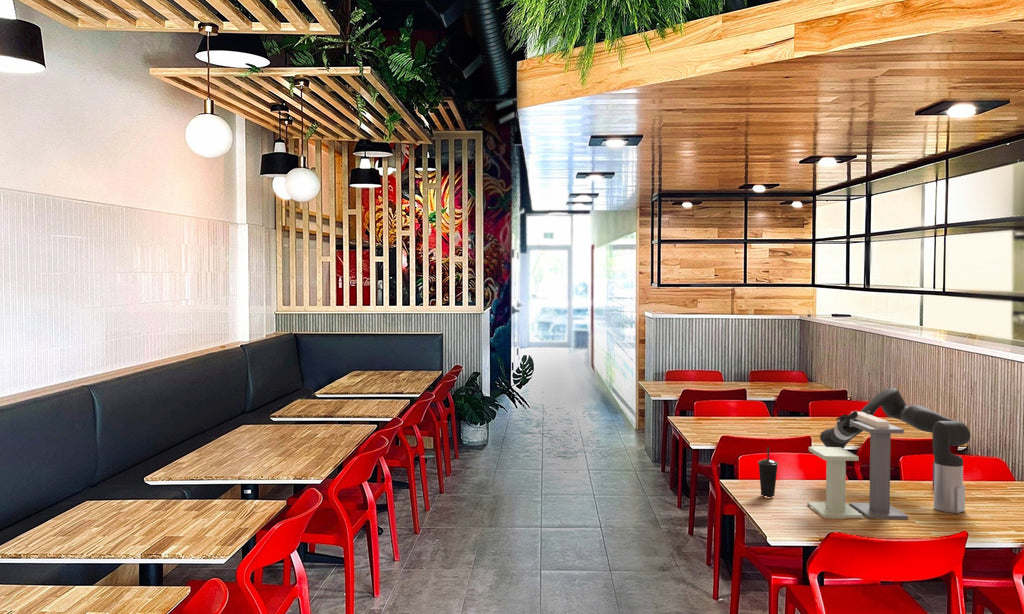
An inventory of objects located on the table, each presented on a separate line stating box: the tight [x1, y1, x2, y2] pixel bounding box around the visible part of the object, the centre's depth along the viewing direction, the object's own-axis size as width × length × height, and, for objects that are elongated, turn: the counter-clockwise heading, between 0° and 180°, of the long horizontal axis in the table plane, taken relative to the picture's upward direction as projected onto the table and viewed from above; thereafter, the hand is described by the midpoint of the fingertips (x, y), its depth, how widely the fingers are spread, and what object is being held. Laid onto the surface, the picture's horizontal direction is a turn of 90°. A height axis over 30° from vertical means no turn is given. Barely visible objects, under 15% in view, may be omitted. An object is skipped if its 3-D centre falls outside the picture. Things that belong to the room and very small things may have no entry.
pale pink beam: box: [850, 411, 890, 428], centre depth 279 cm, size 22×4×2 cm, turn 178°
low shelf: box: [807, 446, 864, 519], centre depth 273 cm, size 18×14×22 cm
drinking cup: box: [757, 446, 779, 497], centre depth 292 cm, size 8×8×20 cm
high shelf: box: [849, 421, 909, 520], centre depth 272 cm, size 18×14×32 cm
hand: (862, 413), depth 284 cm, fingers closed on pale pink beam, 4 cm apart
